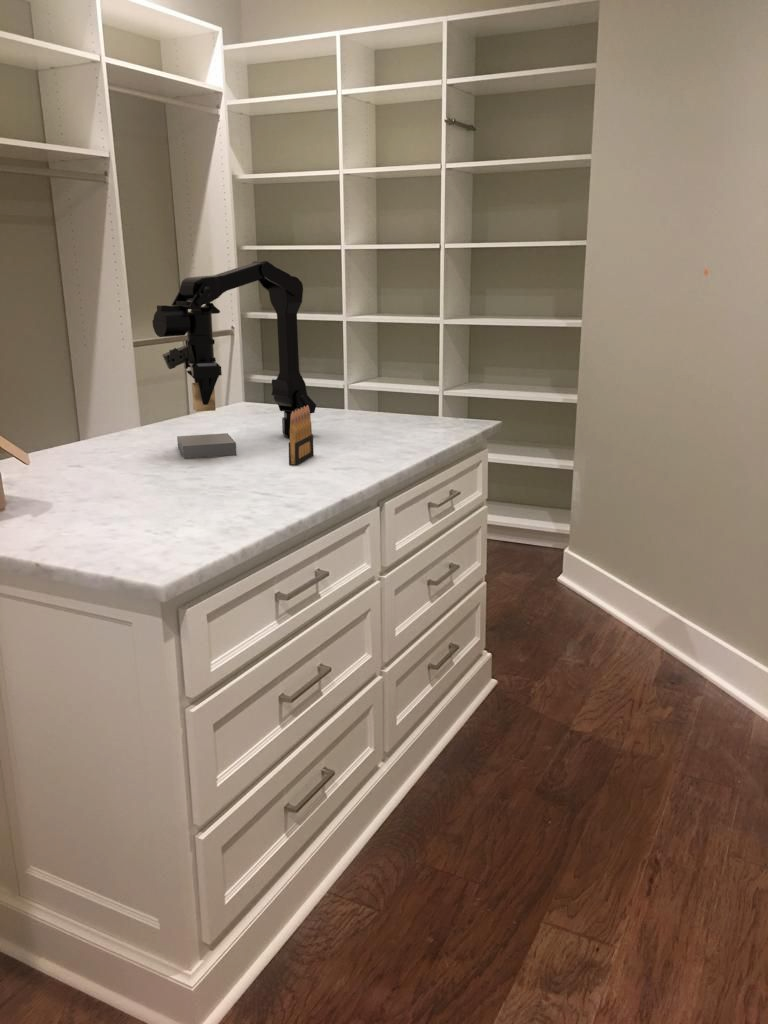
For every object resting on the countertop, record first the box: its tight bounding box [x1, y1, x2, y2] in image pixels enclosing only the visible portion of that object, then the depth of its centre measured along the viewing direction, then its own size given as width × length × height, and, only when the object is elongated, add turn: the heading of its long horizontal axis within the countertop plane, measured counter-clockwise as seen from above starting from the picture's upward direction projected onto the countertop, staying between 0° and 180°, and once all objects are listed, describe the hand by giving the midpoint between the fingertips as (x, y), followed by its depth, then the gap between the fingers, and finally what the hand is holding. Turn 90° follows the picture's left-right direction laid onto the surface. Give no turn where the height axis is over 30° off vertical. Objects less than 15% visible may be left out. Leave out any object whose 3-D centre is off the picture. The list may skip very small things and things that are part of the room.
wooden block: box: [191, 382, 217, 413], centre depth 196 cm, size 4×4×6 cm
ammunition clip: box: [288, 405, 315, 467], centre depth 189 cm, size 11×2×12 cm, turn 164°
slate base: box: [176, 432, 237, 460], centre depth 199 cm, size 12×12×3 cm
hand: (204, 403), depth 196 cm, fingers closed on wooden block, 4 cm apart
